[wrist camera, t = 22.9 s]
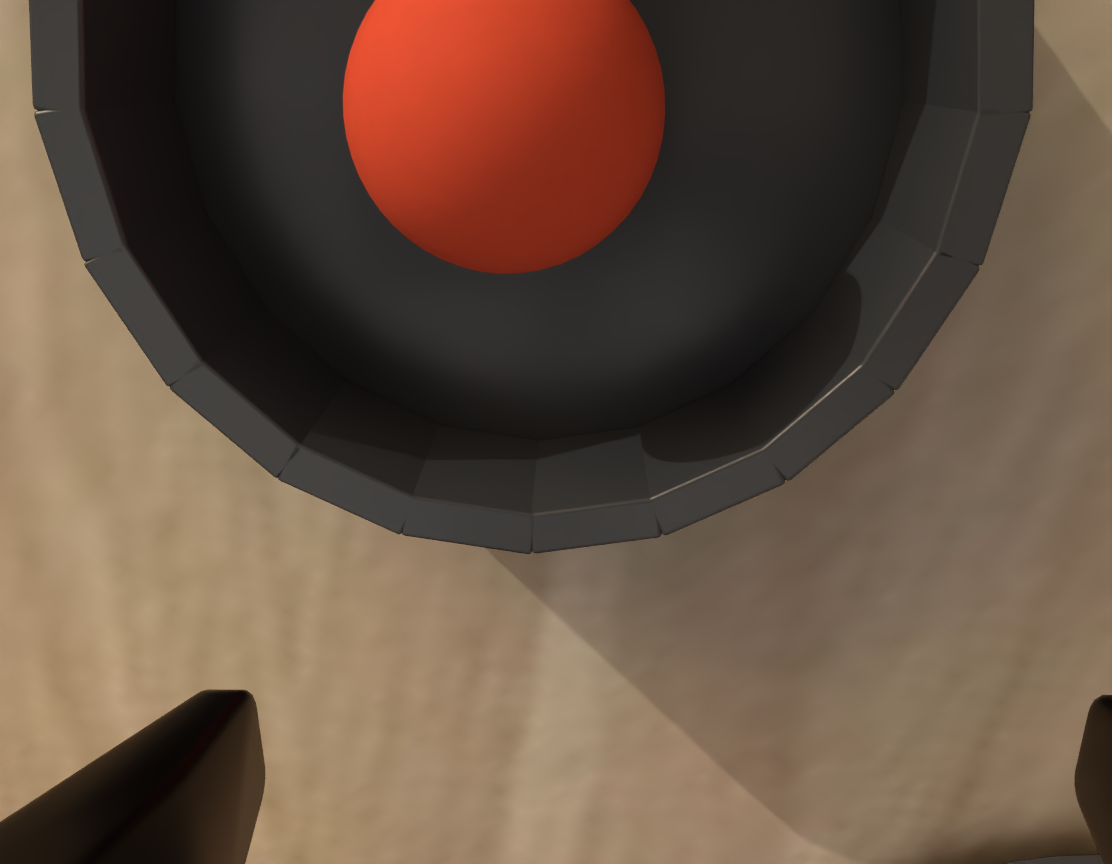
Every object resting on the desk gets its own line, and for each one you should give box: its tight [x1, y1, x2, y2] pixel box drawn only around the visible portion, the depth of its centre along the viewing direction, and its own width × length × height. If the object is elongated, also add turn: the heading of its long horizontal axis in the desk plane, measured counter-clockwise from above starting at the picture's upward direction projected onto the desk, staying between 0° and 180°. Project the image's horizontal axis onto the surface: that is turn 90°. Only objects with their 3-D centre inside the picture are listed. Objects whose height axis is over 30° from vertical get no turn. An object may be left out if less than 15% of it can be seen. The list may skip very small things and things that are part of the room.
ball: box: [343, 0, 665, 274], centre depth 15 cm, size 5×5×5 cm
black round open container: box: [29, 0, 1034, 554], centre depth 16 cm, size 15×15×4 cm
